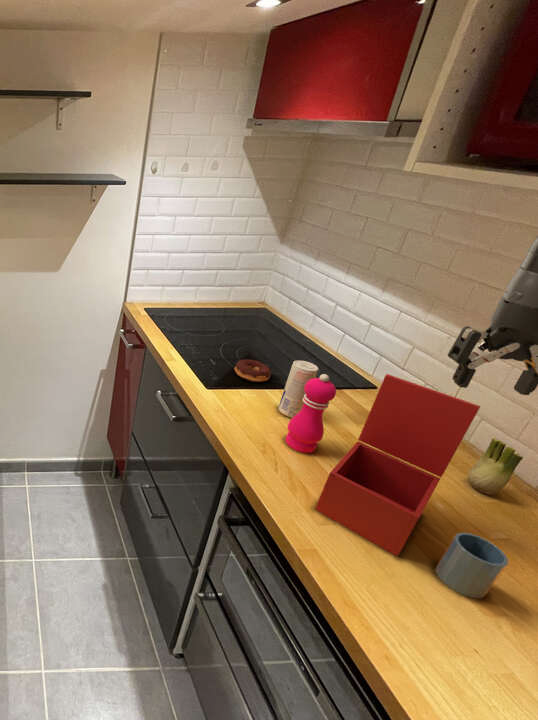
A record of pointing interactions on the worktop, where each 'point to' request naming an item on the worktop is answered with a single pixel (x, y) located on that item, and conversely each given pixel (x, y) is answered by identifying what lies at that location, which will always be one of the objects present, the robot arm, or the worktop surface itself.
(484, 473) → the fennel bulb
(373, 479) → the cooler
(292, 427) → the pepper mill
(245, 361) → the donut
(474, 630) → the worktop surface
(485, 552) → the cup
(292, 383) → the beverage can
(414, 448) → the cooler lid
